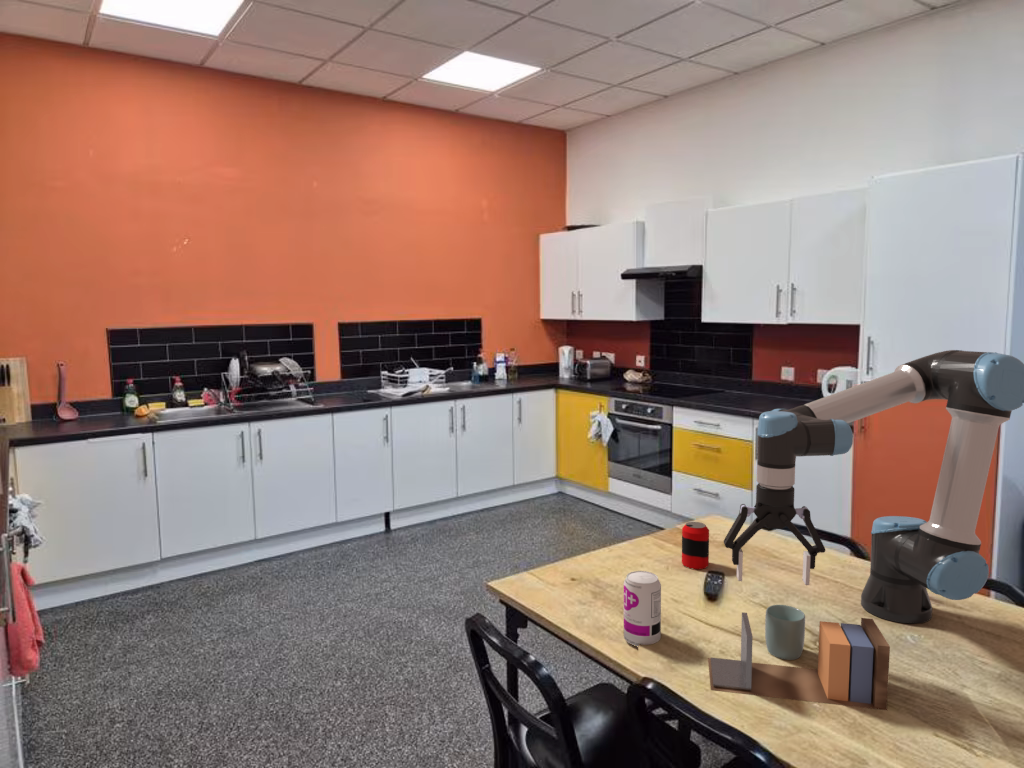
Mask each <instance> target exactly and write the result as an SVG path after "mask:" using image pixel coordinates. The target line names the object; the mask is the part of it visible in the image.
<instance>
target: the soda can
mask: <svg viewBox="0 0 1024 768" xmlns="http://www.w3.org/2000/svg"><path fill="white" fill-rule="evenodd" d="M709 553H710V529H709V528H708V526H707V524H705V523H704V522H699V521H688V522H686V523H685V524H684V525H683V526H682V529H681V564H682V566H684V567H685V566H686V568H687V567H689V568H688V569H691V568H693V569H692V570H703V568H704V569H706V568H708V567H709V564H710V563H709V561H710V559H709V558H710V556H709V555H710V554H709Z"/></svg>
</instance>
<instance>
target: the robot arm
mask: <svg viewBox="0 0 1024 768" xmlns="http://www.w3.org/2000/svg"><path fill="white" fill-rule="evenodd" d="M930 400H946V406H945V410H946V411H947V412H948V413H949V415H950V417H951V420H950V425H949V430H948V435H947V440H946V443H945V448H944V452H943V457H942V462H941V465H940V469H939V475H938V479H937V484H936V489H935V493H934V498H933V502H932V507H931V511H930V516H929V520H928V521H926V520H924V519H922V518H918V517H913V516H911V517H910V516H903V515H901V516H900V515H899V516H898V515H888V516H881V517H880V516H879V517H877V518H875V519H874V520H873V522H872V528H871V532H870V534H871V538H870V539H871V541H870V542H871V543H870V544H871V547H870V567H869V568H870V572H869V576H868V578H867V581H866V583H865V585H864V587H863V589H862V592H861V596H860V605H861V606H862V608H863V609H864V610H865V611H866V612H868V613H869V614H872V615H873V616H876V617H878V618H880V619H884V620H887V621H892V622H896V623H900V624H901V623H902V624H923V623H926V622H928V621H930V620H931V619H932V618H933V617H932V616H933V605H932V603H931V599H930V596H929V593H928V590H929V591H930V592H931V593H933V594H935V595H939V596H942V597H943V598H945V599H948V600H953V601H962V600H966V599H969V598H971V597H972V596H973V595H976V594H977V593H979V592H980V591H981V590H982V588H983V587H984V586H985V584H986V582H987V581H988V578H989V573H990V571H989V569H990V568H989V565H988V563H987V561H986V559H985V558H984V556H982V555H981V554H980V550H981V546H982V541H981V539H980V538H979V537H978V535H977V534H976V531H977V530H976V528H977V524H978V520H979V516H980V511H981V508H982V507H981V506H982V503H983V498H984V494H985V489H986V484H987V481H988V476H989V472H990V467H991V463H992V458H993V454H994V450H995V445H996V441H997V436H998V433H999V427H1000V426H1001V425H1003V424H1005V422H1008V421H1009V420H1010V419H1011V415H1012V411H1014V410H1017V409H1019V408H1021V407H1022V406H1023V404H1024V363H1023V362H1022V361H1021V360H1020V359H1018V358H1017V357H1015V356H1013V355H1010V354H1005V353H998V352H990V351H971V350H962V349H961V350H958V349H949V350H944V351H943V350H942V351H938V352H935V353H932V354H928V355H925V356H923V357H922V356H921V357H919V358H916V359H914V360H911V361H908V362H905V363H903V364H899V365H898V366H896V368H894V371H893V372H890V373H888V374H885V375H883V376H879V377H878V378H874V379H871V380H868V381H866V382H863V383H860V384H858V385H855V386H852V387H849V388H846V389H844V390H841V391H838V392H835V393H832V394H829V395H827V396H824V397H821V398H819V399H816V400H813V401H811V402H807V403H805V404H802V405H798V406H795V407H794V408H793V407H792V408H790V409H788V408H774V409H772V410H770V411H769V410H768V411H764V412H762V413H761V414H760V415H759V417H758V422H757V423H758V424H757V432H756V434H757V453H756V454H757V456H756V457H757V466H756V482H757V484H756V488H755V489H756V490H755V492H756V493H755V495H756V496H755V499H756V500H755V505H754V506H750V505H749V506H748V505H746V504H745V503H742V504H740V506H739V513H738V515H737V516H736V518H735V520H734V522H733V523H732V525H731V527H730V529H729V530H728V533H727V534H726V536H725V537H724V538H723V539H724V540H723V544H724V548H726V549H730V550H731V560H732V563H733V565H734V566H735V565H736V578H737V581H738V582H743V566H744V565H743V563H744V561H743V559H744V557H743V556H744V552H743V549H742V548H743V547H744V546H745V545H746V544H747V543H748V542H749V541H750V540H751V539H752V538H753V537H754V536H755V535H756V533H758V532H759V531H760V530H762V529H763V528H764V527H765V528H767V529H774V528H775V529H779V530H783V529H784V528H786V527H787V529H789V531H790V532H791V533H792V534H793V535H794V536H795V538H796V539H797V540H798V541H799V542H800V543H801V545H802V546H803V547H804V548H805V550H803V554H802V555H803V557H802V558H803V559H802V578H801V579H802V581H803V582H802V583H804V585H805V586H810V581H811V580H810V578H811V577H810V576H811V570H815V568H816V557H817V555H818V554H819V553H821V554H822V553H825V552H826V548H825V545H824V544H823V542H822V539H821V538H820V536H819V533H818V531H817V530H816V527H815V526H814V523H813V522H812V519H811V511H810V510H809V509H808V507H807V506H805V505H803V506H802V507H799V508H795V487H794V485H796V483H795V481H796V459H797V457H814V456H815V457H818V456H819V457H821V456H824V457H825V456H830V457H833V456H839V455H843V454H847V453H848V452H849V451H851V448H852V447H853V443H854V440H853V439H854V434H853V430H852V428H851V426H850V423H852V422H855V421H859V420H861V419H864V418H867V417H870V416H872V415H874V414H877V413H881V412H883V411H886V410H888V409H891V408H894V407H898V406H900V405H903V404H905V403H908V402H909V403H911V404H918V403H919V404H920V403H922V402H924V401H930ZM751 514H754V515H755V518H754V520H753V521H752V522H751V524H750V525H749V526H748V527H747V528H746V529H744V530H743V532H742V533H741V534H740V535H739V536H738V534H739V533H740V531H741V529H742V528H743V526H744V524H745V522H746V521H747V518H748V517H750V516H751ZM796 515H798V517H799V518H800V519H801V520H803V522H804V525H805V527H806V528H807V530H808V532H809V534H810V535H809V536H810V537H811V539H812V540H813V542H814V545H812V544H811V543H810V542H809V541H808V539H807V538H805V536H804V535H803V534H802V532H800V530H799V529H798V528H797V527H796V525H795V524H794V523H793V522H792V520H793V519H794V518H795V517H796ZM737 536H738V537H737Z"/></svg>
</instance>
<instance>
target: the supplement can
mask: <svg viewBox="0 0 1024 768" xmlns="http://www.w3.org/2000/svg"><path fill="white" fill-rule="evenodd" d="M661 608H662V584H661V581H660V579H659V577H658V575H656V574H655V573H653V572H650V571H647V570H635V571H634V570H633V571H631V572H629V573H627V575H626V577H625V579H624V581H623V639H624V640H625V641H626V642H627V643H628V644H629V643H630V644H632V645H635V646H638V647H639V645H643V646H646V645H647V646H648V645H653V644H656V643H658V642H659V641H660V640H661V638H662V637H661V636H662V632H661V631H662V630H661V629H662V627H661V626H662V625H661V624H662V622H661V620H662V609H661ZM630 644H629V645H630ZM632 645H631V646H632ZM638 647H637V648H638Z"/></svg>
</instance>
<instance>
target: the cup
mask: <svg viewBox="0 0 1024 768" xmlns="http://www.w3.org/2000/svg"><path fill="white" fill-rule="evenodd" d="M764 620H765V623H764V625H765V626H764V631H765V632H764V635H765V645H766V648H767V652H768V653H769V654H770V655H771V656H772V657H775V658H778V659H782V660H787V661H793V660H797V659H799V658H800V657H801V656H802V654H803V651H804V647H805V637H806V636H805V635H806V615H805V613H804V611H802V610H801V609H799V608H797V607H794V606H792V605H788V604H787V605H786V604H773V605H770V606H768V607H767V608H766V609H765V619H764Z"/></svg>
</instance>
